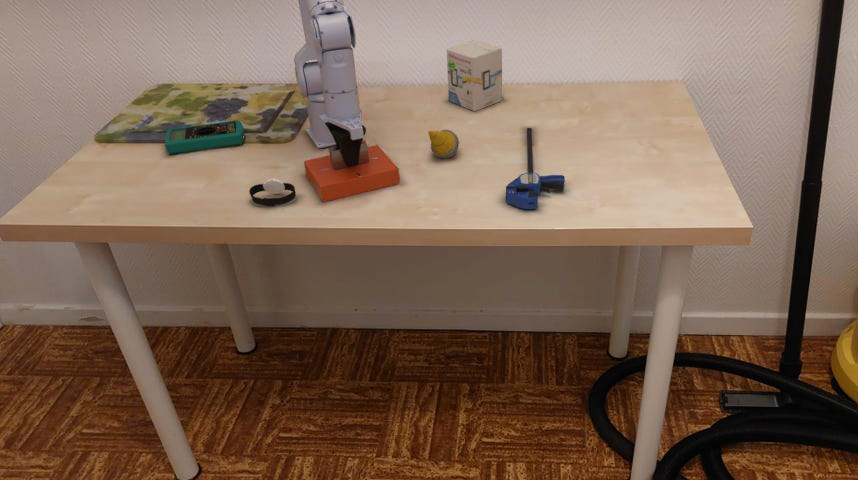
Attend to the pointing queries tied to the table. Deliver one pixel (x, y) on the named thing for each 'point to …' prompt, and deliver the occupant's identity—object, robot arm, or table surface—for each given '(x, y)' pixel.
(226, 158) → the table surface
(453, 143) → the yellow pointed rounded piece
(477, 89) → the ink box
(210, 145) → the digital multimeter
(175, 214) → the table surface
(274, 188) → the watch
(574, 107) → the table surface
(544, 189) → the bar clamp
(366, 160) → the grey block with button
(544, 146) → the table surface
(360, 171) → the orange block
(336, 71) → the robot arm
